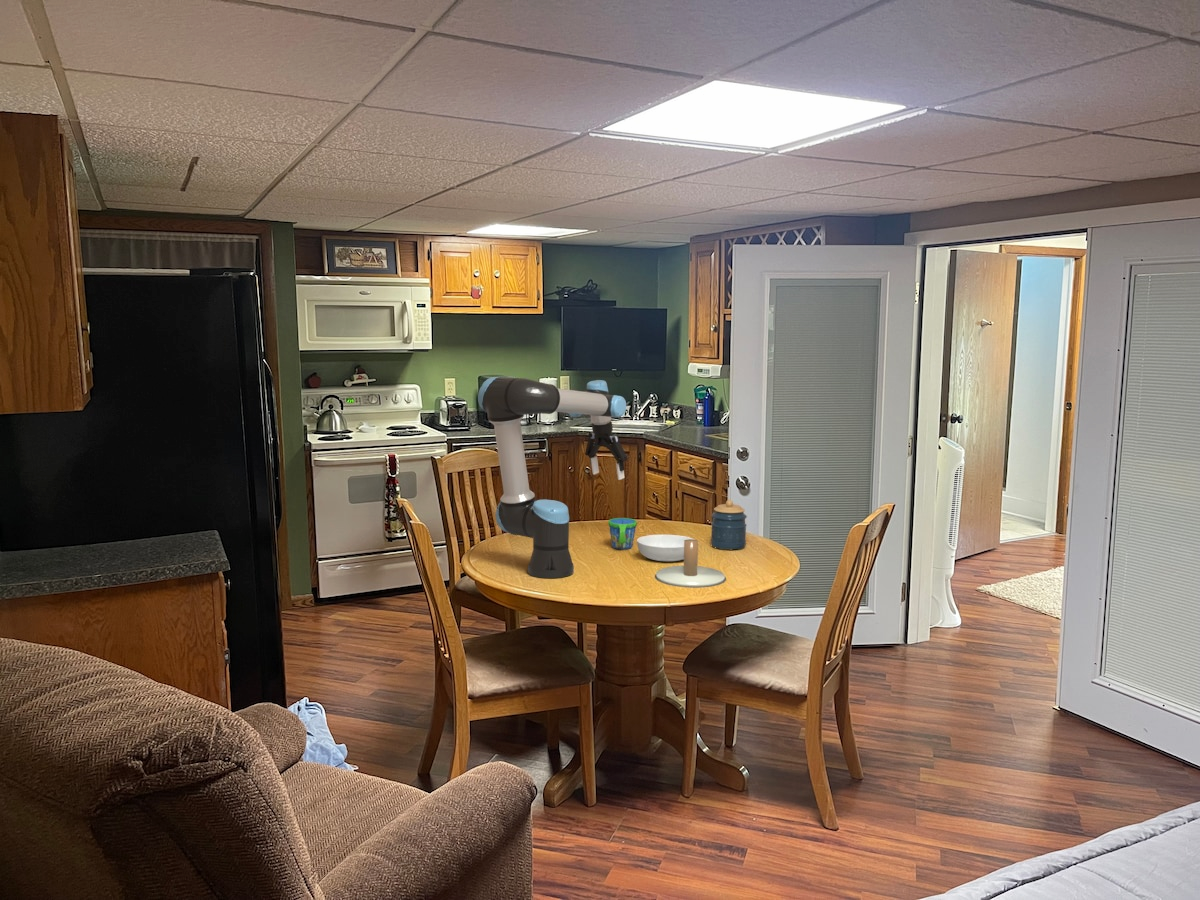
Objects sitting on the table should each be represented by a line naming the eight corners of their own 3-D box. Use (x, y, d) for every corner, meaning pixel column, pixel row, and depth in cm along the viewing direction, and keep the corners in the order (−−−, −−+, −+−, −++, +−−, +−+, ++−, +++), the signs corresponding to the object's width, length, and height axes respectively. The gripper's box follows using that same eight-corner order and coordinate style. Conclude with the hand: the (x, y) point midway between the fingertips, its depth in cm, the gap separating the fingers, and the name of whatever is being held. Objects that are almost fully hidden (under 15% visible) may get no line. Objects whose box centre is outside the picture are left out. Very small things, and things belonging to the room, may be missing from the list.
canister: (734, 541, 337) (735, 496, 335) (752, 549, 325) (753, 502, 323) (704, 544, 332) (705, 498, 330) (721, 552, 320) (722, 504, 318)
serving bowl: (706, 557, 313) (706, 538, 312) (678, 570, 295) (678, 550, 294) (655, 549, 324) (655, 531, 323) (625, 561, 307) (625, 541, 306)
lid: (696, 591, 269) (696, 552, 267) (642, 577, 284) (642, 540, 283) (738, 577, 285) (739, 541, 283) (685, 564, 300) (685, 530, 298)
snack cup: (634, 553, 317) (634, 525, 316) (605, 552, 319) (605, 524, 317) (638, 543, 333) (638, 516, 331) (610, 542, 334) (610, 515, 333)
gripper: (632, 422, 320) (639, 477, 326) (585, 416, 338) (592, 468, 344) (618, 428, 315) (625, 484, 321) (571, 421, 333) (578, 474, 339)
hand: (608, 476), depth 332 cm, fingers open, 13 cm apart
